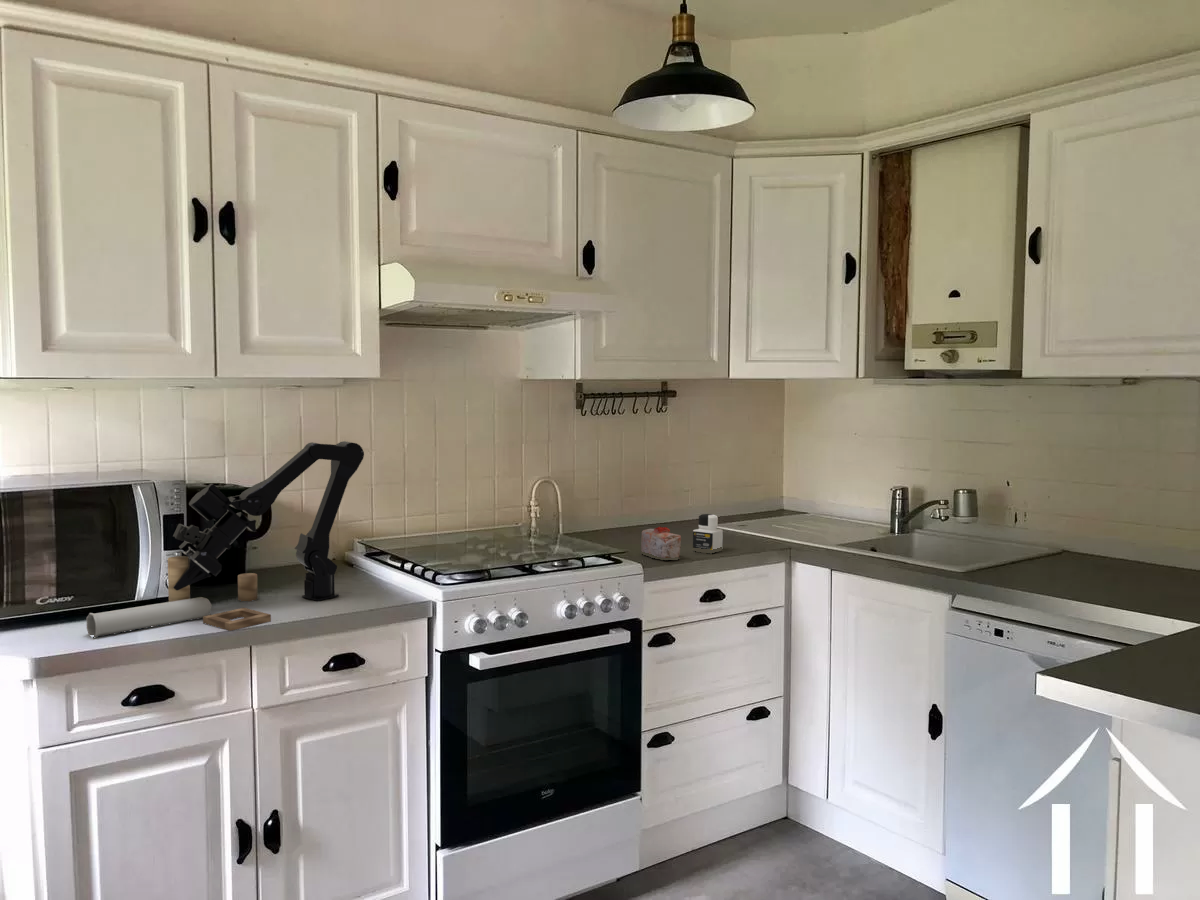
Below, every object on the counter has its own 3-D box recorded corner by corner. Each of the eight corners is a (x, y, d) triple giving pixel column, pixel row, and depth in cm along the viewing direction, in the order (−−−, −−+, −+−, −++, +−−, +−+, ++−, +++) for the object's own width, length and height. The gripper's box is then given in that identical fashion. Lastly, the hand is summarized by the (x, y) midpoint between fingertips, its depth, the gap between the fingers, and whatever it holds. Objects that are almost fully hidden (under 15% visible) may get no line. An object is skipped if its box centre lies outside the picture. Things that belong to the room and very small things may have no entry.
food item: (684, 560, 279) (685, 528, 278) (663, 563, 274) (664, 530, 273) (657, 553, 290) (657, 522, 289) (636, 556, 285) (637, 524, 285)
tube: (203, 596, 210) (84, 615, 191) (213, 592, 206) (93, 611, 188) (206, 619, 209) (88, 640, 190) (217, 616, 206) (97, 637, 187)
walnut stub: (250, 596, 226) (250, 572, 226) (261, 599, 224) (260, 574, 223) (234, 599, 223) (233, 575, 222) (245, 602, 220) (244, 577, 220)
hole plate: (244, 614, 209) (243, 607, 209) (270, 621, 203) (270, 614, 203) (203, 623, 201) (203, 616, 201) (229, 630, 195) (229, 623, 195)
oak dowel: (183, 611, 211) (182, 555, 210) (194, 614, 208) (193, 557, 207) (165, 615, 207) (163, 558, 206) (175, 618, 205) (174, 560, 204)
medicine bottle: (692, 552, 293) (693, 514, 292) (703, 548, 299) (703, 512, 298) (712, 554, 289) (713, 516, 288) (722, 551, 295) (723, 514, 294)
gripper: (188, 506, 216) (137, 557, 211) (205, 516, 201) (150, 571, 195) (223, 536, 221) (175, 587, 216) (243, 548, 206) (191, 603, 200)
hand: (172, 586), depth 207 cm, fingers open, 6 cm apart
